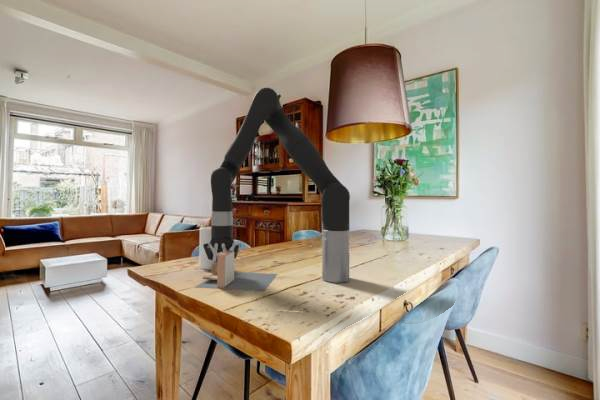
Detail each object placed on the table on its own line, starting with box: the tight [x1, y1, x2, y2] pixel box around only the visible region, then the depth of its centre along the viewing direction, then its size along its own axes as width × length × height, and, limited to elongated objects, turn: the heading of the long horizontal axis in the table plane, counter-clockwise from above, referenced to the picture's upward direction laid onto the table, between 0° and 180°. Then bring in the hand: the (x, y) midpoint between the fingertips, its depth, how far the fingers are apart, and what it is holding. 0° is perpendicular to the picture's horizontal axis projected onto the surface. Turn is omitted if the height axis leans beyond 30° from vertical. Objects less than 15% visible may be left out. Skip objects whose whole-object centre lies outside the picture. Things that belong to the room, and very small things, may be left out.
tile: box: [217, 249, 235, 288], centre depth 90 cm, size 2×8×10 cm, turn 172°
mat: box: [194, 271, 278, 292], centre depth 94 cm, size 22×19×1 cm
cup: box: [198, 226, 222, 270], centre depth 112 cm, size 8×8×16 cm
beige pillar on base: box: [202, 261, 217, 280], centre depth 98 cm, size 5×14×4 cm, turn 172°
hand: (221, 271), depth 100 cm, fingers closed on beige pillar on base, 3 cm apart
